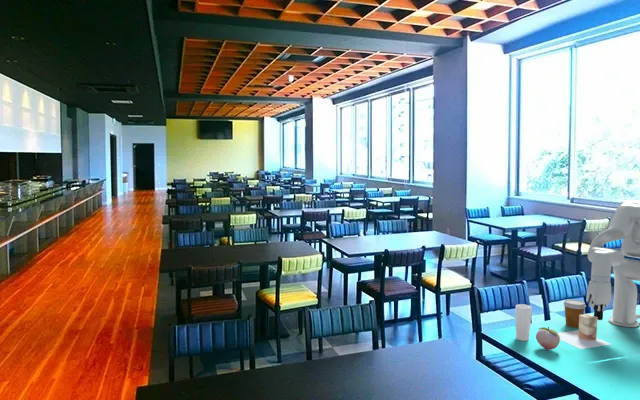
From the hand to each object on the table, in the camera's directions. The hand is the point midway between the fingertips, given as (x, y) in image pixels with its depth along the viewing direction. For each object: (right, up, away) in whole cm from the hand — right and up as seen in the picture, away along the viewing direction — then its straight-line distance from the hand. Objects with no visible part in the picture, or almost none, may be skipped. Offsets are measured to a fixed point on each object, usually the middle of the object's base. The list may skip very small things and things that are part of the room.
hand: (598, 319), depth 224 cm
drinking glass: (-34, -9, -1) cm, 36 cm away
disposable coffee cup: (-3, -7, +16) cm, 18 cm away
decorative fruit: (-28, -10, -13) cm, 33 cm away
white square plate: (-10, -9, -2) cm, 13 cm away
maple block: (-5, -8, -1) cm, 10 cm away
